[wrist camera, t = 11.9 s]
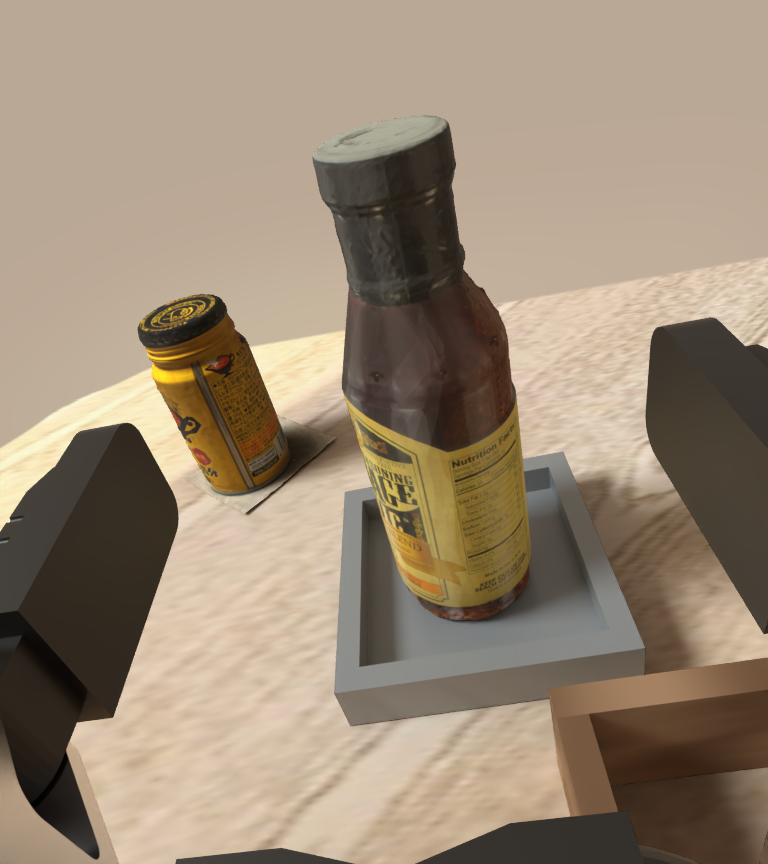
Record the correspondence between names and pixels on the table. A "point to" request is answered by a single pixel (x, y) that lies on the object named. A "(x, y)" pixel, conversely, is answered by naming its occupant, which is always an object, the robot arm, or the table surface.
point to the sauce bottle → (427, 371)
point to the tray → (486, 638)
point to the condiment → (223, 403)
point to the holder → (658, 729)
